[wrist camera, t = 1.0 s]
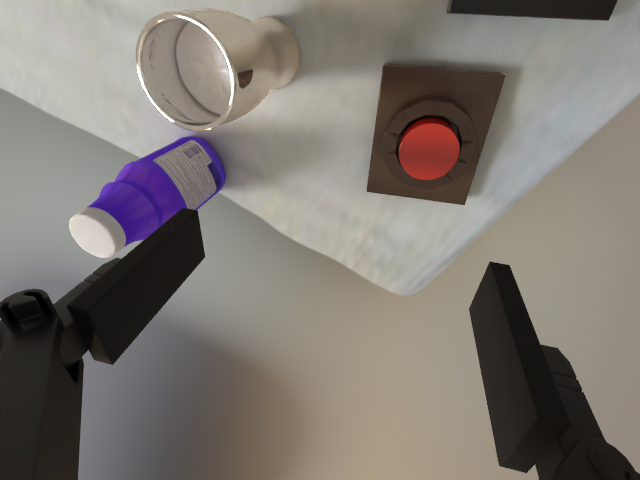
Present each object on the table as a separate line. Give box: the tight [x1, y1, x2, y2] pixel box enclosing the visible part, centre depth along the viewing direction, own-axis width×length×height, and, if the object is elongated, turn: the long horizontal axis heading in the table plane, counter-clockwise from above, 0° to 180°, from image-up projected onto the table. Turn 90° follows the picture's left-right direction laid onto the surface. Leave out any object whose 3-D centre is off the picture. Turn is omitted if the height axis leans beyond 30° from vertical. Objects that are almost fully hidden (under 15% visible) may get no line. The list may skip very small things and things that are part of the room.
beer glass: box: [136, 9, 300, 131], centre depth 27 cm, size 7×7×15 cm
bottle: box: [69, 136, 225, 258], centre depth 34 cm, size 7×6×17 cm
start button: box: [399, 118, 460, 180], centre depth 30 cm, size 5×5×2 cm
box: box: [367, 64, 505, 205], centre depth 32 cm, size 12×10×4 cm
